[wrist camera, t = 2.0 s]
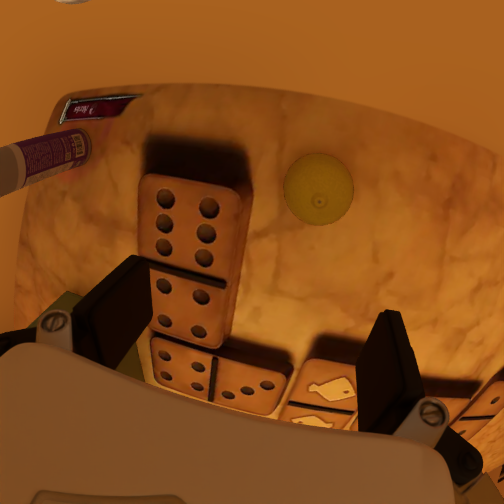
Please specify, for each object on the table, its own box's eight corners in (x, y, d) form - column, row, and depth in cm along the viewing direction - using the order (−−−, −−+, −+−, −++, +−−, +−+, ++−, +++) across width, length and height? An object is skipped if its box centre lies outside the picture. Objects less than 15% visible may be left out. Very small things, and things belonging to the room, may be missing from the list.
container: (70, 123, 28) (-33, 149, 15) (95, 135, 28) (-13, 166, 15) (62, 157, 30) (-33, 195, 17) (86, 171, 30) (-14, 215, 17)
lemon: (359, 170, 25) (376, 191, 18) (326, 217, 27) (330, 255, 20) (307, 136, 24) (305, 144, 17) (276, 186, 27) (262, 214, 20)
